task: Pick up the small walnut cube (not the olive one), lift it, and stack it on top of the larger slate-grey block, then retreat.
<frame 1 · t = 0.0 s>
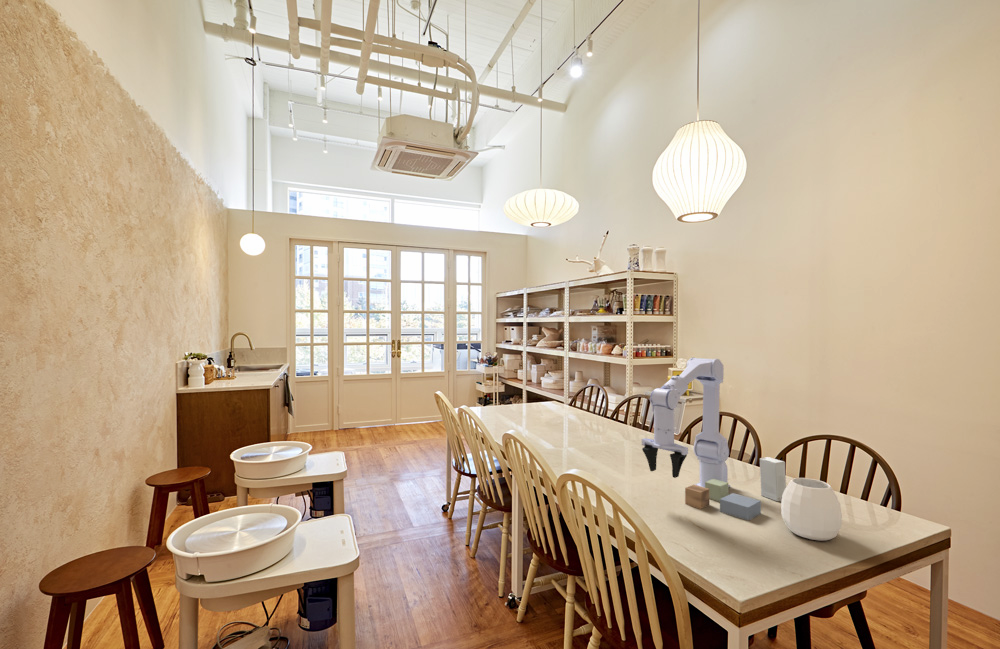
hand: (664, 473, 140), 10 cm above the table, tool pointing down, fingers open, 7 cm apart
slate block: (740, 513, 136), on the table
walnut cube: (697, 504, 142), on the table
white round vase: (810, 535, 121), on the table
olive cube: (716, 498, 147), on the table
skincare box: (772, 498, 147), on the table
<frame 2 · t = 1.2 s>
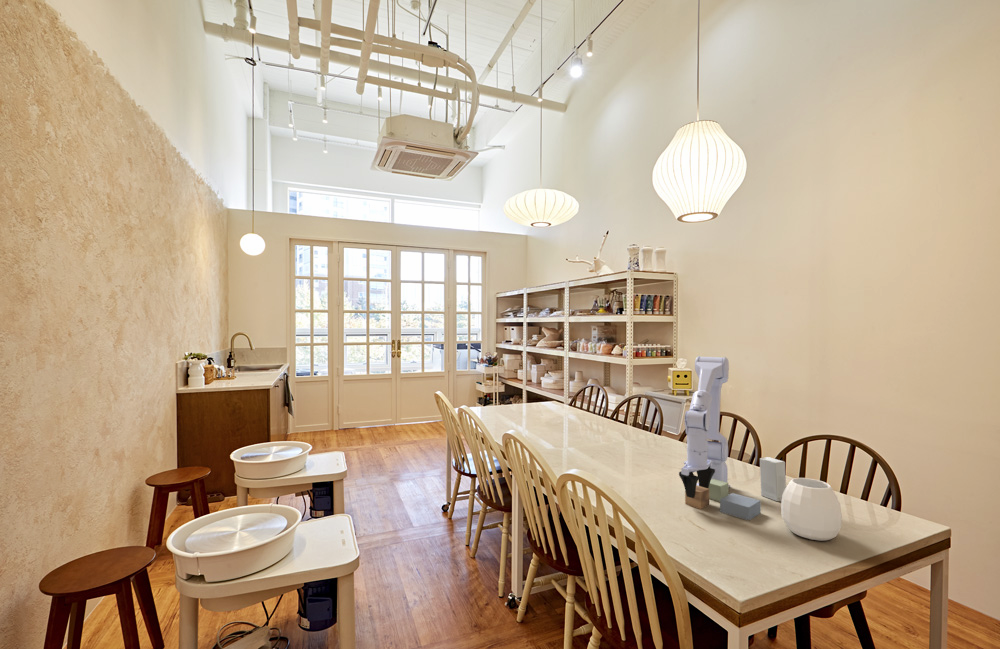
hand: (697, 494, 142), 3 cm above the table, tool pointing down, fingers open, 7 cm apart
nothing on the table moved.
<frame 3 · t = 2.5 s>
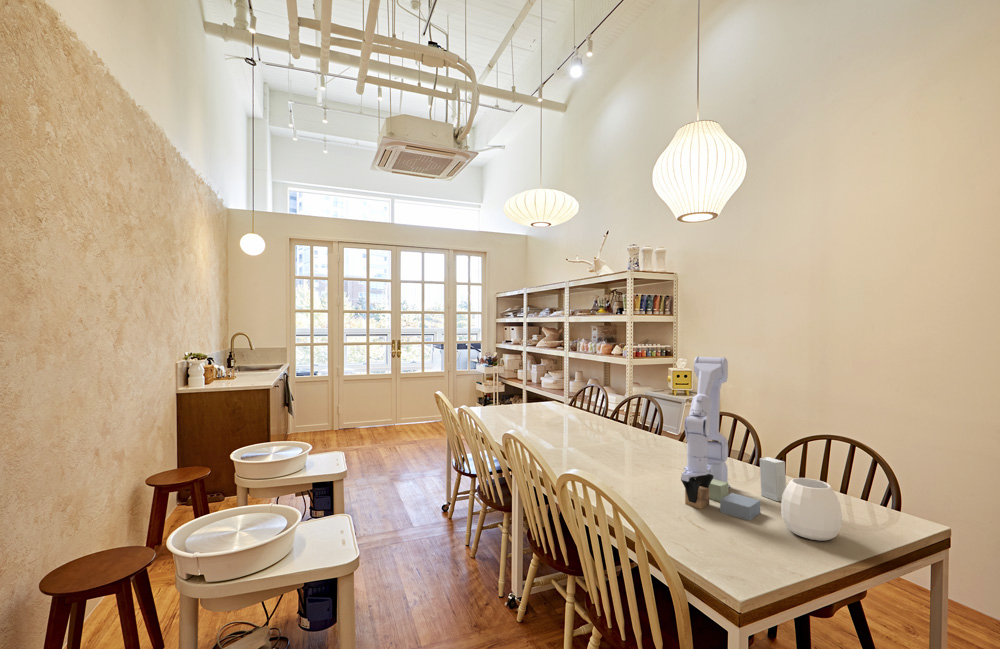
hand: (697, 499, 142), 1 cm above the table, tool pointing down, fingers closed on walnut cube, 5 cm apart
walnut cube: (697, 504, 142), on the table, touching gripper
everything else where it was.
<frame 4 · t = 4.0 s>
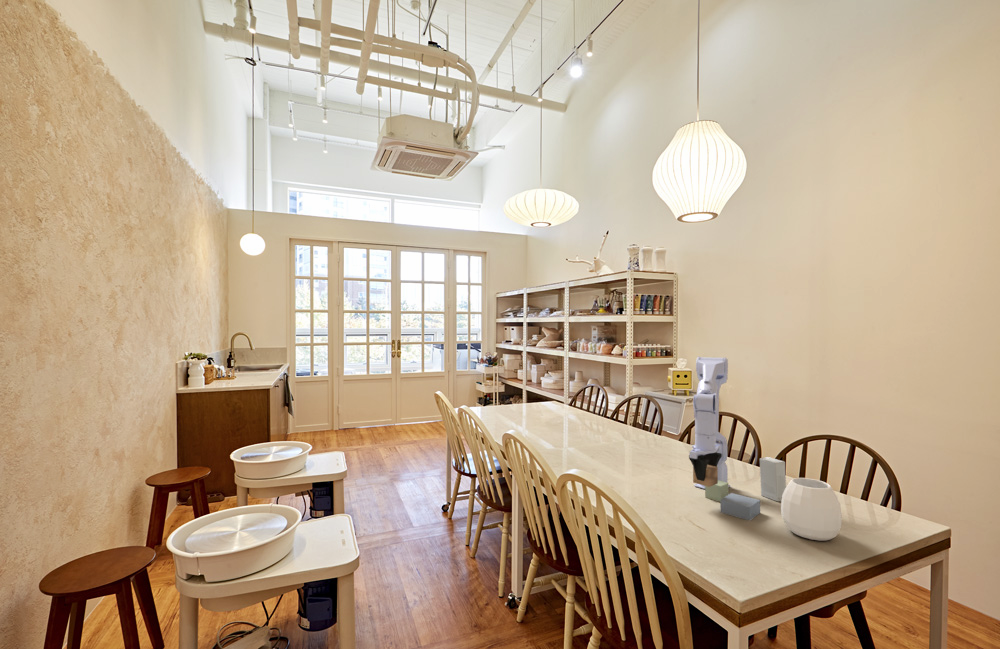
hand: (705, 478, 141), 8 cm above the table, tool pointing down, fingers closed on walnut cube, 5 cm apart
walnut cube: (705, 482, 141), point 7 cm above the table, touching gripper
everything else where it was.
when the fingers open (6 cm above the table, at t = 5.6 s): walnut cube drops 1 cm, resting on slate block.
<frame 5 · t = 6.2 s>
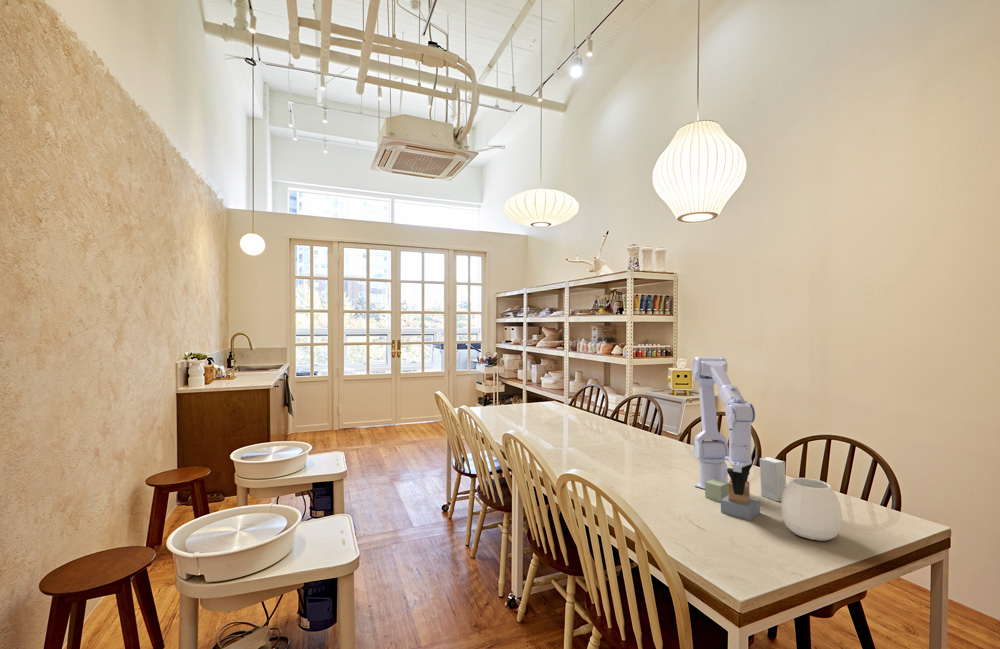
hand: (740, 490, 136), 6 cm above the table, tool pointing down, fingers open, 7 cm apart
slate block: (740, 513, 136), on the table, touching walnut cube
walnut cube: (739, 499, 136), point 4 cm above the table, touching slate block
everything else where it was.
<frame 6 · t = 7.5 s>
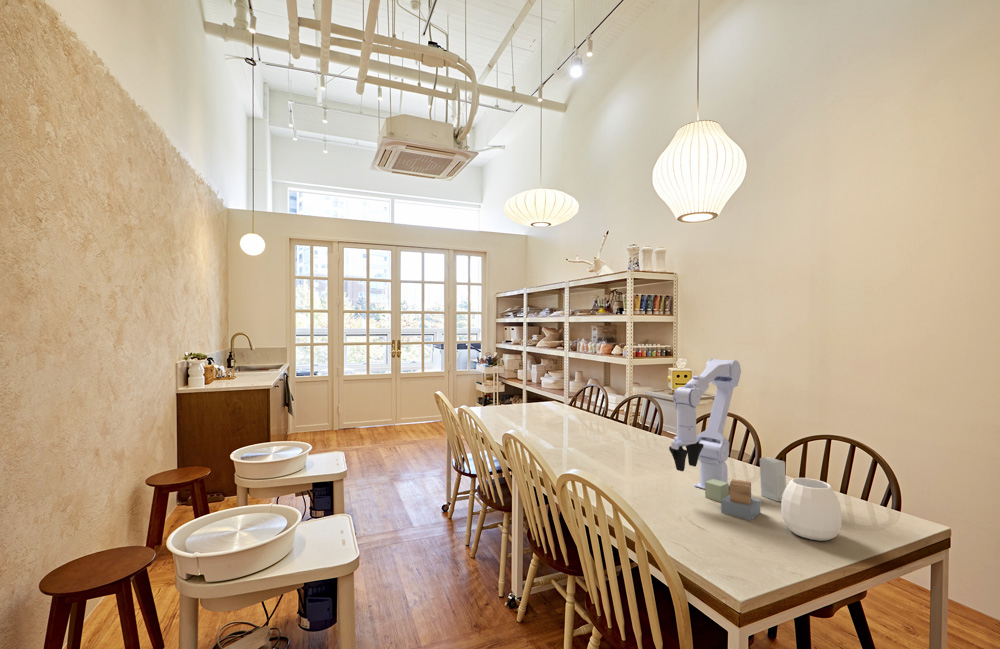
hand: (686, 468, 147), 9 cm above the table, tool pointing down, fingers open, 7 cm apart
slate block: (740, 513, 136), on the table
walnut cube: (740, 499, 136), point 4 cm above the table
everything else where it was.
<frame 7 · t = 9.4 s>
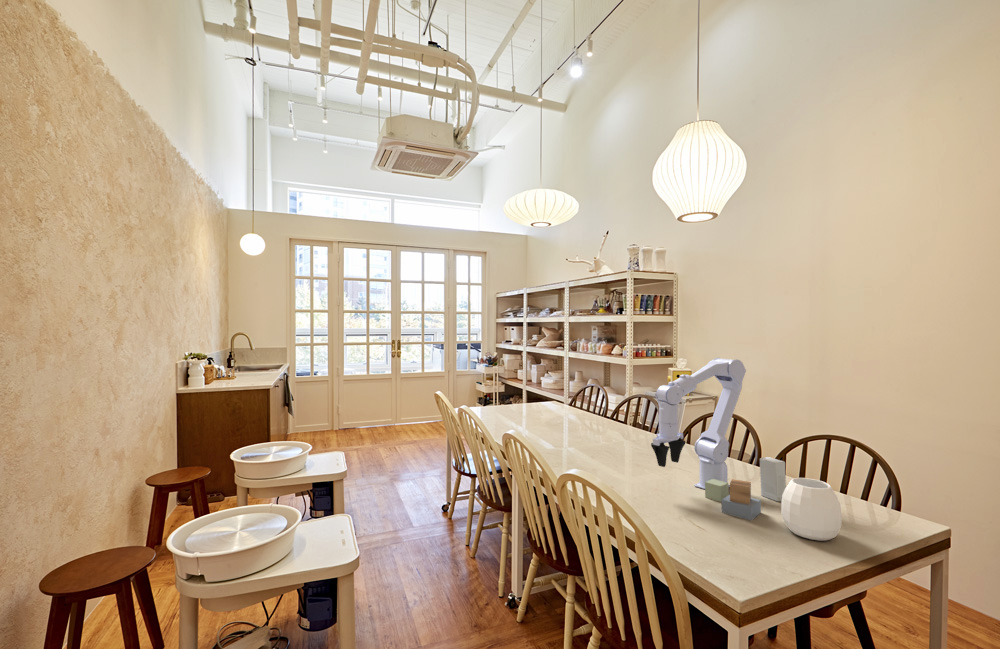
hand: (668, 464, 152), 9 cm above the table, tool pointing down, fingers open, 7 cm apart
nothing on the table moved.
at the end: walnut cube 0.3 cm off-centre on the slate block, point 4.0 cm above the slate block's base; walnut cube tilted 0°; the gripper is holding nothing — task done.
